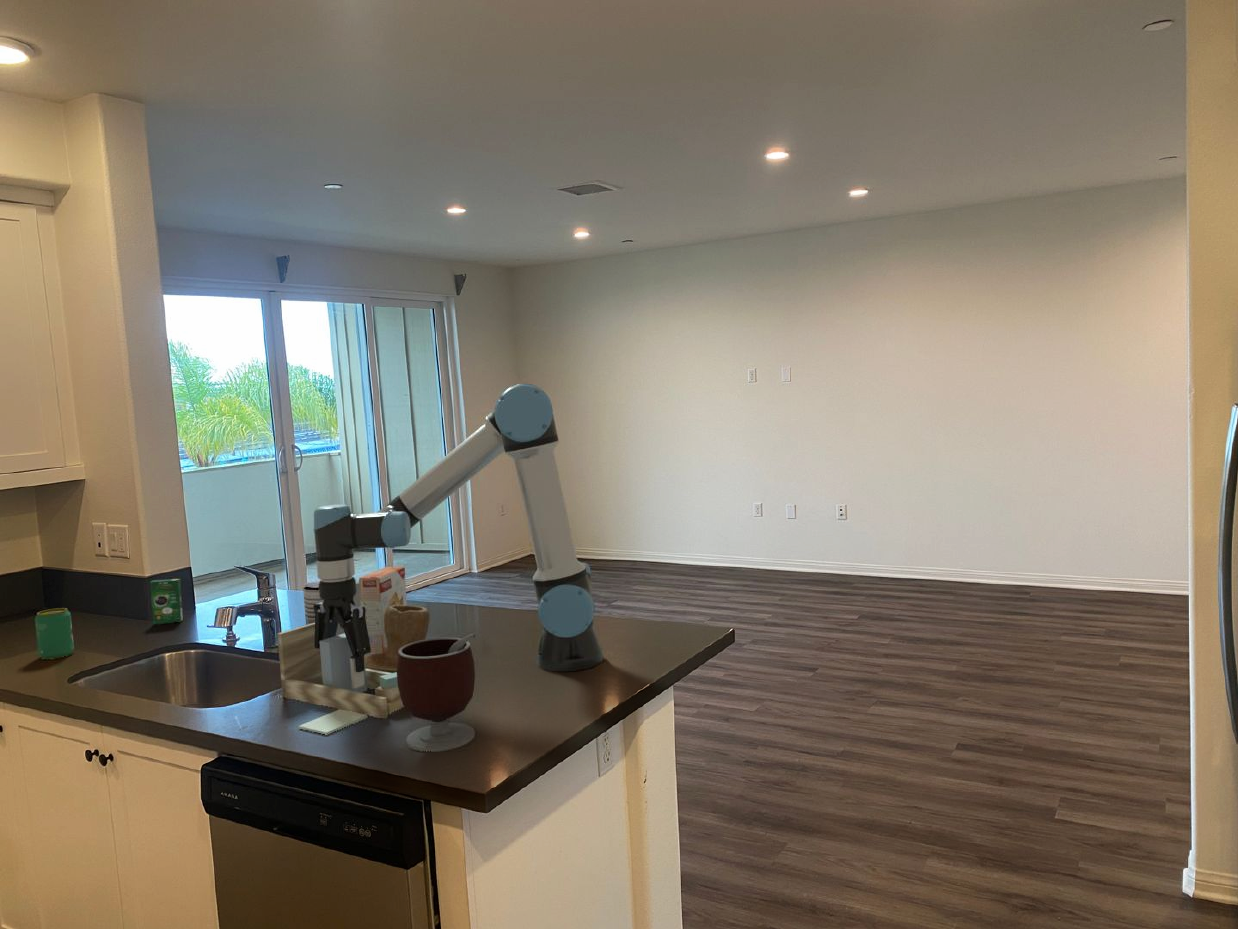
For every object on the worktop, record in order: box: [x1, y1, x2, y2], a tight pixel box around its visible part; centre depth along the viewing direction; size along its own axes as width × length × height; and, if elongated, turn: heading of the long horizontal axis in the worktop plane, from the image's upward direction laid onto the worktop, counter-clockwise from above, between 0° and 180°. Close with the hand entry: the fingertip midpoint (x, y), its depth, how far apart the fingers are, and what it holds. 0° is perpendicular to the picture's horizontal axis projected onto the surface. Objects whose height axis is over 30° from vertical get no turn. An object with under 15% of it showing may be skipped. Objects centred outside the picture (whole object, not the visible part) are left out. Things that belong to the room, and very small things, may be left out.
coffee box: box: [149, 578, 184, 626], centre depth 269 cm, size 8×3×13 cm, turn 103°
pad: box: [298, 709, 369, 736], centre depth 176 cm, size 8×10×1 cm
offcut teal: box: [380, 672, 398, 689], centre depth 184 cm, size 3×5×2 cm, turn 130°
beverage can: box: [34, 607, 75, 659], centre depth 238 cm, size 8×8×12 cm
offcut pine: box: [374, 686, 401, 703], centre depth 184 cm, size 4×7×2 cm, turn 156°
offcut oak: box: [387, 698, 404, 715], centre depth 184 cm, size 5×9×2 cm, turn 151°
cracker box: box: [358, 566, 408, 658], centre depth 221 cm, size 14×6×21 cm, turn 168°
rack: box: [276, 623, 392, 719], centre depth 190 cm, size 31×13×14 cm, turn 58°
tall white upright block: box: [319, 633, 368, 693], centre depth 192 cm, size 3×9×13 cm, turn 148°
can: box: [302, 580, 324, 625], centre depth 258 cm, size 11×11×12 cm
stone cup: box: [365, 604, 431, 673], centre depth 209 cm, size 15×12×15 cm
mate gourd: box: [397, 633, 476, 753], centre depth 164 cm, size 16×14×20 cm
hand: (345, 683), depth 192 cm, fingers open, 8 cm apart
